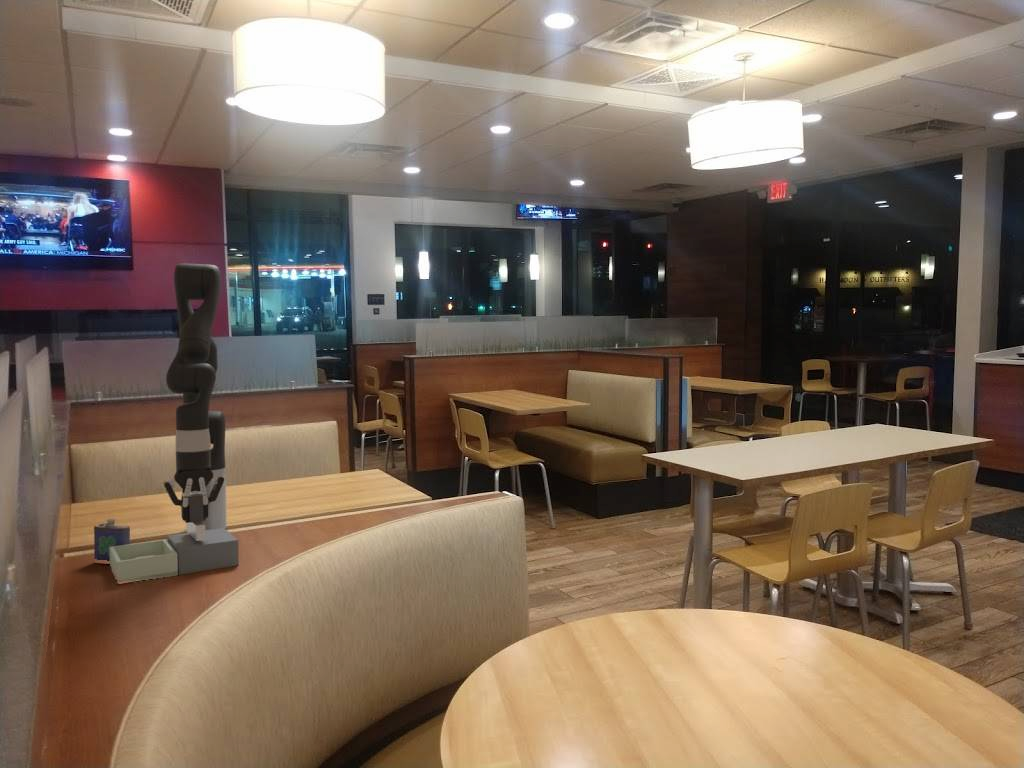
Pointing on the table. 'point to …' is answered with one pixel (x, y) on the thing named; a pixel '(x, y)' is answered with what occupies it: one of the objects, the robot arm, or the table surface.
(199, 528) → the scraper
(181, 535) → the grey slotted block
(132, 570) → the box
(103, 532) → the flask
